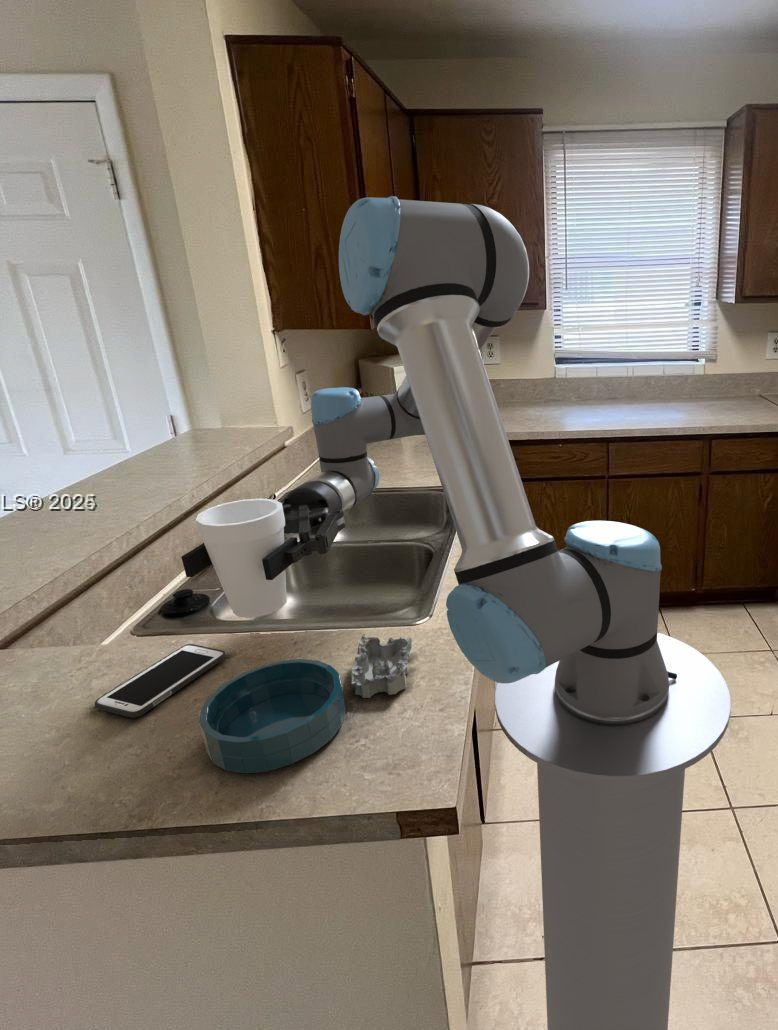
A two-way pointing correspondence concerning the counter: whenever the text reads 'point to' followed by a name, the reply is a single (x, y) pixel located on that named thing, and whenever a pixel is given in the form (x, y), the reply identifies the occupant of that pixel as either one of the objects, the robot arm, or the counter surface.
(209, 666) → the cell phone
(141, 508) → the counter surface
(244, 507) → the foam cup
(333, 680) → the bowl
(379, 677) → the egg carton
